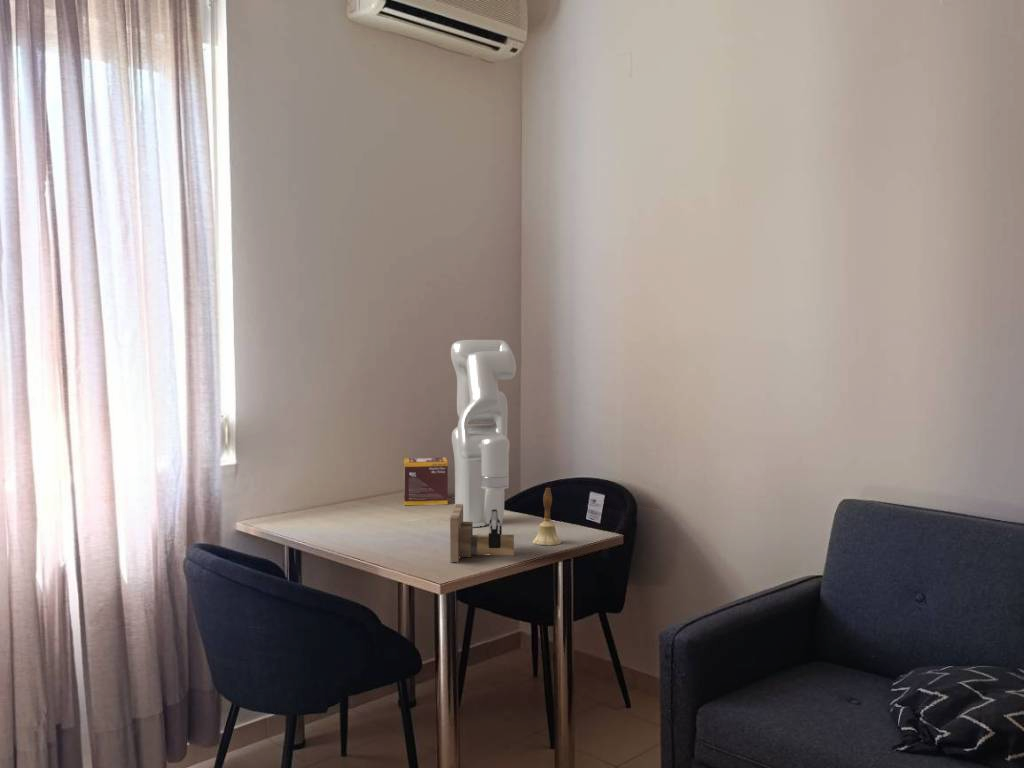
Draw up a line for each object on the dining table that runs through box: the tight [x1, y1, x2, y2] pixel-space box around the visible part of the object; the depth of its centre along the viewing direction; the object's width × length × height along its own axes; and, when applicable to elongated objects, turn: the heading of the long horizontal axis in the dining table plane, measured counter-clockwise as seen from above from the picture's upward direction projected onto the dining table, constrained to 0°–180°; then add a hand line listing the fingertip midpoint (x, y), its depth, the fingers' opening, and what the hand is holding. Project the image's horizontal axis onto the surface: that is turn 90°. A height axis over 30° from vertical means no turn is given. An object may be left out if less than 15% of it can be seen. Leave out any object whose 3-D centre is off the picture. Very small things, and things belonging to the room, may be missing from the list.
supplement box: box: [403, 456, 449, 506], centre depth 335 cm, size 10×15×16 cm
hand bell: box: [532, 487, 562, 546], centre depth 272 cm, size 8×8×16 cm
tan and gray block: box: [471, 534, 515, 556], centre depth 259 cm, size 4×14×5 cm, turn 89°
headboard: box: [449, 504, 474, 563], centre depth 259 cm, size 20×5×12 cm, turn 179°
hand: (495, 543), depth 259 cm, fingers open, 9 cm apart
